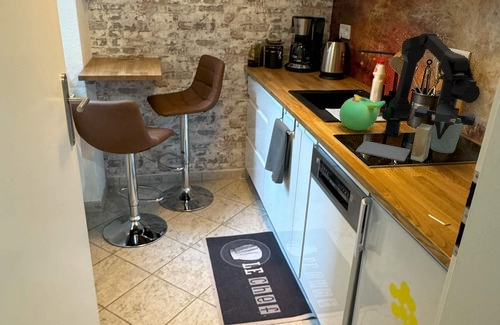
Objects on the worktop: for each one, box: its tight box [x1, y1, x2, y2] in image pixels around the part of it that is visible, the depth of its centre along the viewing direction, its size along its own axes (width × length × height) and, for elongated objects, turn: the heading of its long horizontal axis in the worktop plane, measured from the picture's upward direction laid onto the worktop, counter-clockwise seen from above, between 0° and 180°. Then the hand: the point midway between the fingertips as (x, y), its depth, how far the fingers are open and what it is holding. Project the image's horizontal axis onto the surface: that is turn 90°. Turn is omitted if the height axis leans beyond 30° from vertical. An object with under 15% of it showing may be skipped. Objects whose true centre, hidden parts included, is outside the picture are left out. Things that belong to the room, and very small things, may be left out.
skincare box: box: [410, 123, 434, 163], centre depth 145 cm, size 6×4×12 cm
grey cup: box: [430, 120, 464, 154], centre depth 154 cm, size 10×10×12 cm
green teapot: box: [338, 94, 386, 132], centre depth 174 cm, size 18×17×15 cm
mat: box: [355, 140, 412, 162], centre depth 153 cm, size 13×18×1 cm
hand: (439, 139), depth 142 cm, fingers closed
